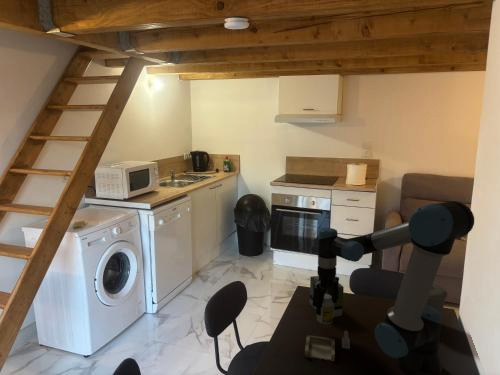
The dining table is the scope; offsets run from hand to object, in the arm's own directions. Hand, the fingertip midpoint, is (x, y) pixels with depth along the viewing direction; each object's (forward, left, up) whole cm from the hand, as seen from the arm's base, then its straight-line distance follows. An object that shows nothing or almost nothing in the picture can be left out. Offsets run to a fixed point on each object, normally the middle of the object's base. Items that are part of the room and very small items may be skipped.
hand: (325, 318), depth 157 cm
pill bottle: (0, 0, -1) cm, 1 cm away
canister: (-20, -41, -7) cm, 46 cm away
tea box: (+14, -16, -7) cm, 22 cm away
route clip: (-10, -1, -7) cm, 12 cm away
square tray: (-7, +11, -7) cm, 15 cm away
